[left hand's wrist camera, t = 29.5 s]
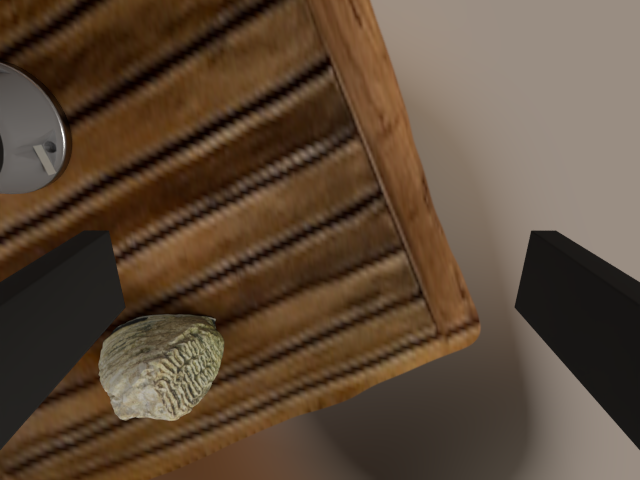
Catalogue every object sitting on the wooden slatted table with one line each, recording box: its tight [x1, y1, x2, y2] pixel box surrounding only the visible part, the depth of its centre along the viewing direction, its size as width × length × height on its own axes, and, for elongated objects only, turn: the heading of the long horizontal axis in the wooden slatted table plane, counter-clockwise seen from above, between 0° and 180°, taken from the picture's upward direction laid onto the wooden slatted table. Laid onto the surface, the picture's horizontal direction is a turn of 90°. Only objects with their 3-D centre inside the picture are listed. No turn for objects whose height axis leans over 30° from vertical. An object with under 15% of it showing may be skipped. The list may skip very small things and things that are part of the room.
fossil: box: [99, 314, 224, 421], centre depth 51 cm, size 9×18×15 cm, turn 110°
